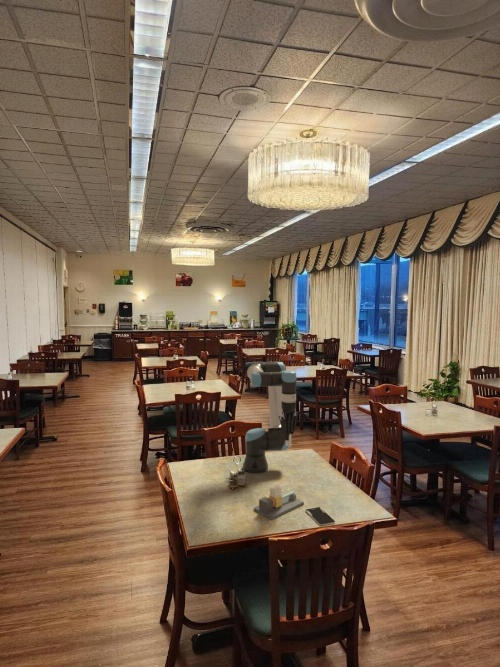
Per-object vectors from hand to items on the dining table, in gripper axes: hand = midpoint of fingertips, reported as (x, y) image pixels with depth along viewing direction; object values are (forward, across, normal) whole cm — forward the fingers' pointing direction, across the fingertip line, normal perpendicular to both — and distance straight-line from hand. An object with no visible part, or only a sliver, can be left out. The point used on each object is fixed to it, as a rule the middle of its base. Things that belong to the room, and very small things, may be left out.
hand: (288, 445), depth 213 cm
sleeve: (+22, -18, -9) cm, 30 cm away
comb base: (+24, -16, -9) cm, 30 cm away
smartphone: (+25, -9, -28) cm, 38 cm away
